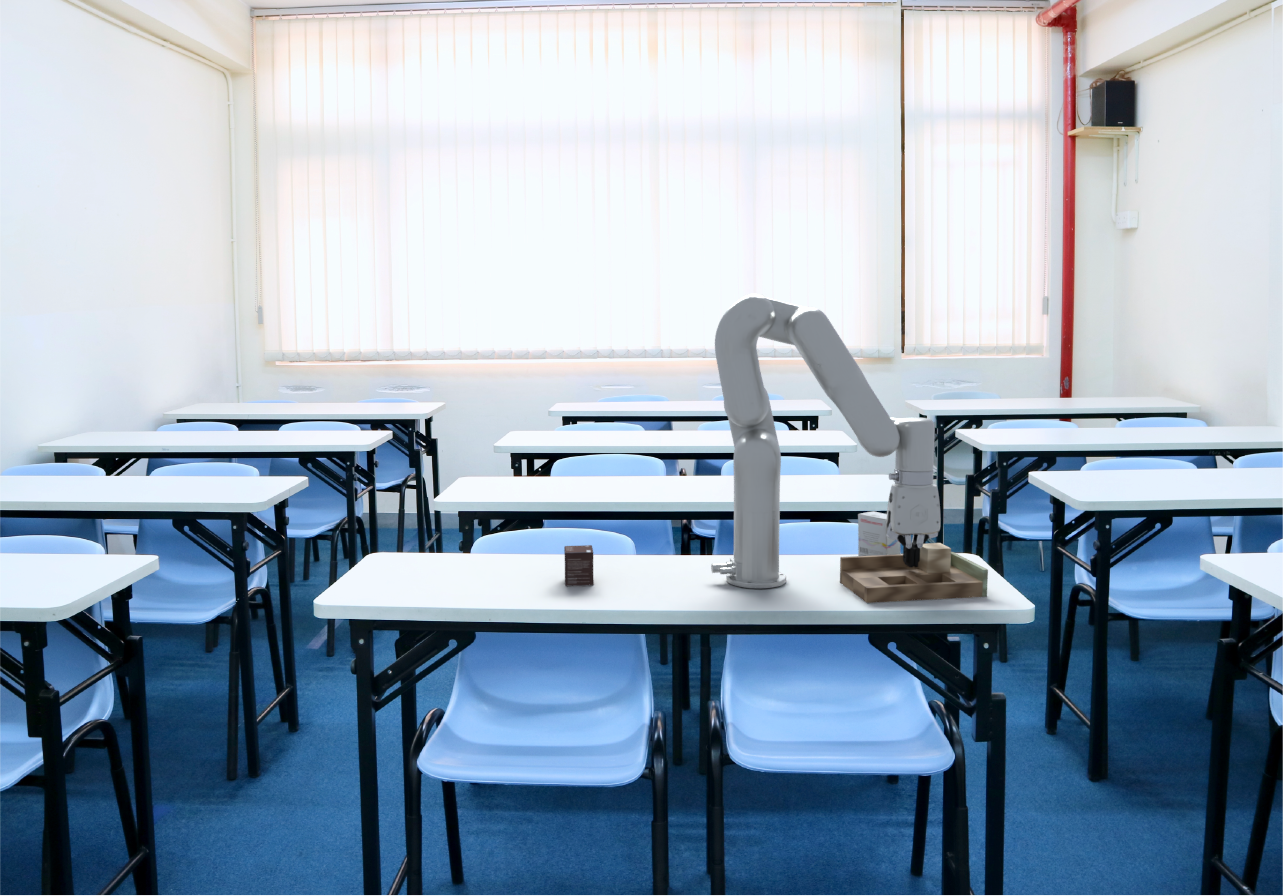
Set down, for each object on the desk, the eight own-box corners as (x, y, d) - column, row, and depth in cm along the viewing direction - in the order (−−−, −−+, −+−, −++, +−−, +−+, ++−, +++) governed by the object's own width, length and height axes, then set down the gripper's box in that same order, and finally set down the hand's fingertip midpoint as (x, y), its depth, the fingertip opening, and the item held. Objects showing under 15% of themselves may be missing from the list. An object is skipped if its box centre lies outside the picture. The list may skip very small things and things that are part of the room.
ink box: (901, 569, 214) (903, 516, 212) (885, 572, 211) (887, 519, 210) (872, 561, 221) (873, 510, 220) (856, 564, 218) (857, 513, 217)
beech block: (927, 573, 199) (928, 549, 198) (916, 567, 204) (917, 543, 203) (950, 572, 200) (951, 548, 199) (939, 566, 205) (940, 542, 204)
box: (564, 579, 208) (564, 545, 207) (592, 578, 209) (592, 544, 208) (565, 586, 202) (564, 552, 201) (593, 585, 203) (593, 551, 202)
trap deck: (866, 603, 189) (867, 575, 188) (839, 582, 204) (840, 557, 203) (986, 596, 192) (988, 569, 192) (952, 577, 207) (952, 551, 206)
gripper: (886, 482, 193) (883, 571, 196) (956, 480, 196) (953, 568, 198) (872, 476, 201) (869, 562, 203) (940, 474, 203) (937, 559, 205)
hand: (911, 565), depth 201 cm, fingers closed
